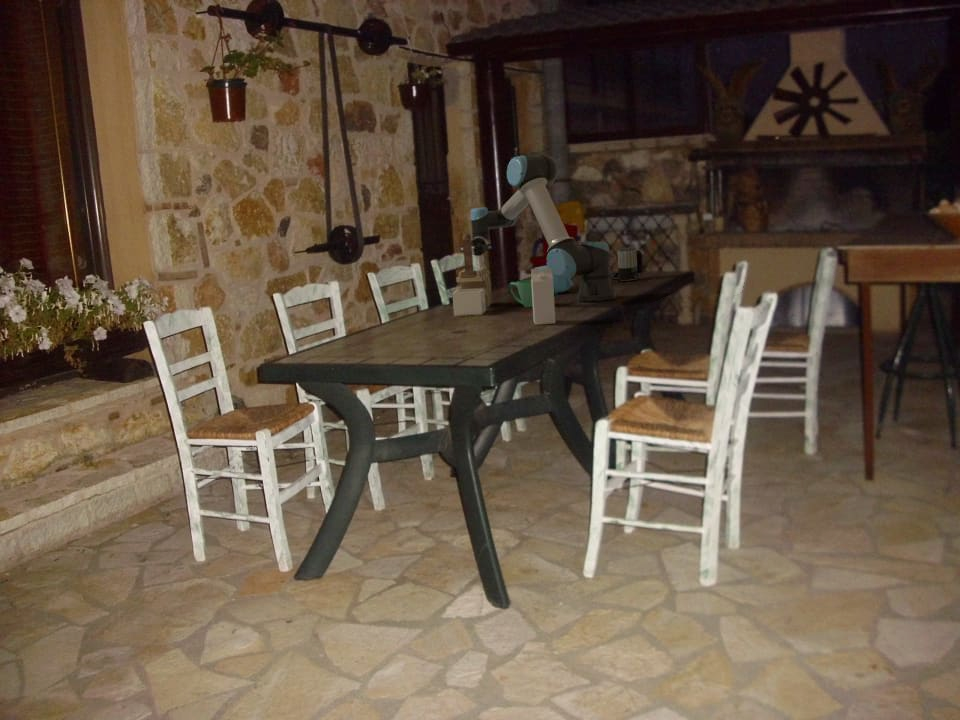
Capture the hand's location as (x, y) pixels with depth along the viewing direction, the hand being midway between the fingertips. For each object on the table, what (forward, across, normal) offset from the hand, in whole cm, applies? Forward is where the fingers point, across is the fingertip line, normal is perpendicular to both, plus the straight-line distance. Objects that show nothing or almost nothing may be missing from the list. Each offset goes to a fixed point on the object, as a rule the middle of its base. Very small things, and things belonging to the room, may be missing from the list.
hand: (470, 251), depth 383 cm
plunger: (+13, -1, -9) cm, 16 cm away
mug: (+6, -21, -23) cm, 31 cm away
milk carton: (+50, -31, -22) cm, 63 cm away
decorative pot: (-31, -30, -23) cm, 49 cm away
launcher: (+4, -1, -22) cm, 23 cm away
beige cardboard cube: (+18, -1, -22) cm, 29 cm away
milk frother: (-63, -61, -23) cm, 91 cm away
